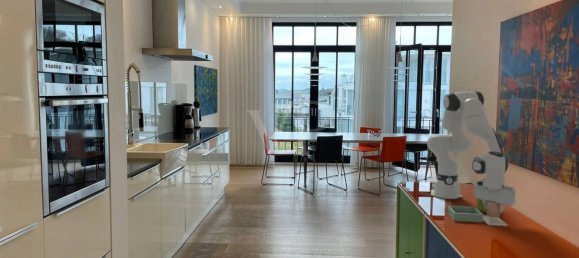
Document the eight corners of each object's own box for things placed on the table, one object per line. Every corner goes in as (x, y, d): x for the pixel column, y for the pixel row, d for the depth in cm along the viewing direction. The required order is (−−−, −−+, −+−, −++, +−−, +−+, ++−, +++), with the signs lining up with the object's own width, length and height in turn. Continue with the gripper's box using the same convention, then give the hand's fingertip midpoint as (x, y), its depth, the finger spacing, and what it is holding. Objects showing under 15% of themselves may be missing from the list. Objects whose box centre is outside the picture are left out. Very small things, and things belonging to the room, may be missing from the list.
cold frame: (447, 212, 228) (448, 205, 227) (474, 214, 226) (475, 206, 225) (453, 220, 214) (454, 213, 214) (482, 222, 212) (483, 214, 212)
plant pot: (495, 213, 227) (496, 197, 226) (477, 212, 229) (477, 197, 228) (491, 208, 236) (491, 193, 235) (473, 207, 238) (473, 192, 237)
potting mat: (479, 215, 223) (479, 215, 223) (496, 216, 222) (496, 215, 222) (488, 224, 208) (488, 224, 208) (507, 225, 206) (507, 225, 206)
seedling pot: (485, 213, 218) (485, 199, 217) (497, 214, 217) (498, 200, 216) (488, 217, 212) (489, 202, 211) (501, 217, 211) (502, 203, 210)
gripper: (518, 186, 207) (517, 214, 208) (479, 179, 223) (477, 205, 224) (512, 188, 203) (510, 216, 204) (472, 181, 219) (471, 206, 221)
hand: (493, 210), depth 214 cm, fingers closed on seedling pot, 6 cm apart
